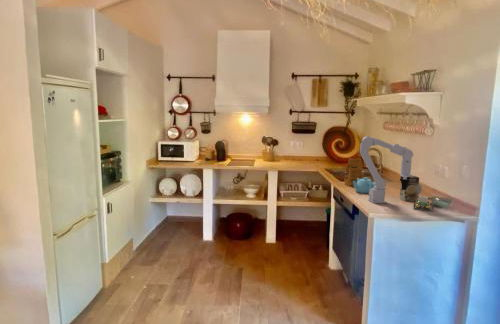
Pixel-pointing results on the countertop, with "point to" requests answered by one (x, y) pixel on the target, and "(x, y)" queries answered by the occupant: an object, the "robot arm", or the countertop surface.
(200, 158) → the countertop surface
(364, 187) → the teapot
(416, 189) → the coffee box
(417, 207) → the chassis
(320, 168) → the countertop surface
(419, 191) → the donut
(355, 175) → the coffee package
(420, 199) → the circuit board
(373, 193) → the robot arm
